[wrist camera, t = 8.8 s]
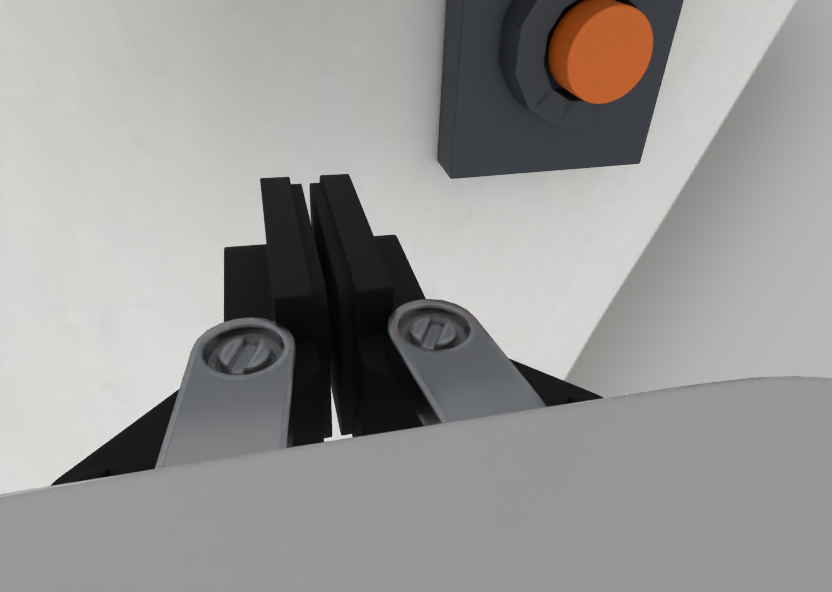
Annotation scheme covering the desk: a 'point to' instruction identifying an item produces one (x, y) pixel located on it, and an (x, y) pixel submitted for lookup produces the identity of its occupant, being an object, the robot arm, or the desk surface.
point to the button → (600, 50)
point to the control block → (535, 93)
